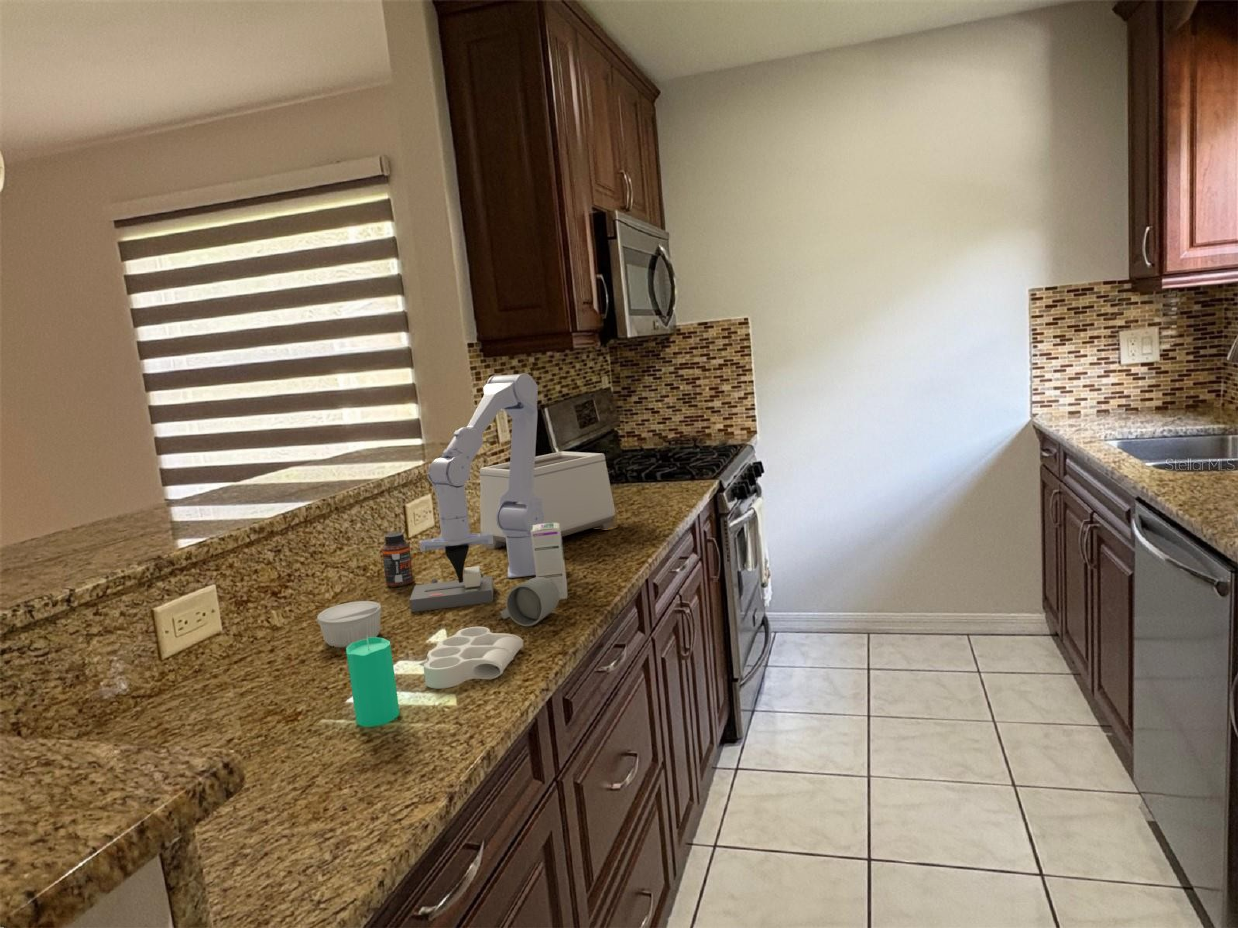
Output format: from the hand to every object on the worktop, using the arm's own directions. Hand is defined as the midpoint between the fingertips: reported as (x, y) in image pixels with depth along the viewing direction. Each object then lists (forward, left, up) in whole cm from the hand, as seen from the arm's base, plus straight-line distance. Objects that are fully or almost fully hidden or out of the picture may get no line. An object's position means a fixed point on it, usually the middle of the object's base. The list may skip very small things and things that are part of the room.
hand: (461, 581), depth 162 cm
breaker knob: (-2, 0, -1) cm, 2 cm away
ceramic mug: (-13, +18, -4) cm, 22 cm away
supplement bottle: (+15, -17, -4) cm, 23 cm away
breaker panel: (+2, -4, -4) cm, 6 cm away
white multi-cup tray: (-3, +36, -4) cm, 36 cm away
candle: (+9, +51, -4) cm, 52 cm away
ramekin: (+19, +16, -4) cm, 25 cm away
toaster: (-22, -46, -4) cm, 51 cm away
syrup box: (-18, +6, -4) cm, 19 cm away
